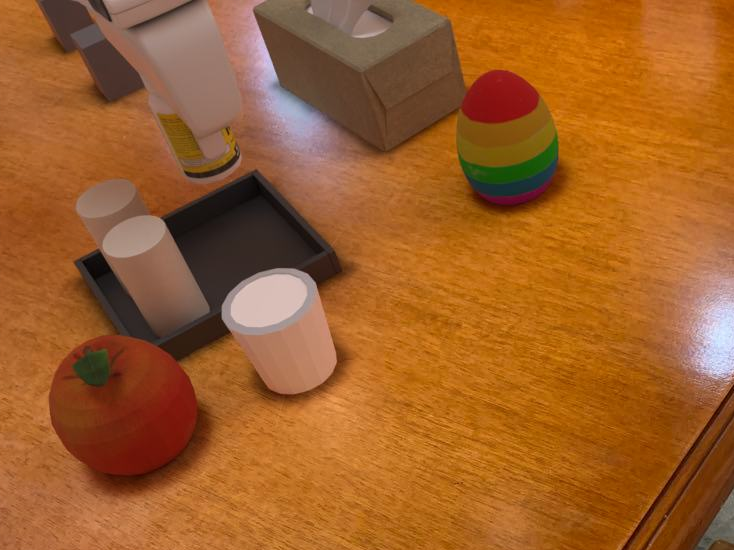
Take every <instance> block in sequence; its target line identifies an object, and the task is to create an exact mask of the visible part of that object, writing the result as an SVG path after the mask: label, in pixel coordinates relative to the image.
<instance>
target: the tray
mask: <svg viewBox="0 0 734 550" xmlns="http://www.w3.org/2000/svg"><path fill="white" fill-rule="evenodd" d="M159 218H160V219H162V220H163V221H164V222H165V224H166V226H167V228H168V230H169V232H170V234H171V235H172V237H173V239H174V241H175V243H176V245H177V247H178V249H179V251H180V252H181V254H182V256H183V258H184V260H185V262H186V264H187V266H188V267H189V269H190V271H191V273H192V275H193V277H194V279H195V281H196V282H197V284H198V286H199V288H200V290H201V292H202V294H203V296H204V298H205V299H206V301H207V303H208V305H209V308H210V312H209V313H207V314H205V315H203V316H202V317H200V318H198V319H196V320H194V321H192V322H190V323H188V324H187V325H185V326H183V327H181V328H179V329H177V330H175V331H174V332H172V333H170V334H168V335H166V336H164V337H162V338H160V337H158V336H156V335H155V334H154V333H153V331H152V330H151V328H150V326H149V325H148V323H147V322H146V320H145V318H144V317H143V315H142V313H141V312H140V310H139V308H138V307H137V305H136V303H135V302H134V300H133V298H132V297H130V296H129V295H127V293H126V292H125V291H124V289H123V287H122V286H121V284H120V282H119V281H118V279H117V277H116V276H115V274H114V272H113V271H112V269H111V267H110V266H109V264H108V263H107V261H106V259H105V258H104V256H103V254H102V253H101V251H100V249H99V248H97V249H95V250H93V251H91V252H89V253H87V254H84V255H82V256H81V257H80V258H77V259H75V260H73V261H72V262H73V264H74V266H75V268H76V269H77V270H78V272H79V274H80V275H81V277H82V278H83V280H84V281H85V282H86V284H87V286H88V287H89V289H90V291H91V292H92V294H93V295H94V296H95V299H96V300H97V301H98V303H99V304H100V306H101V308H102V309H103V311H104V312H105V313H106V315H107V317H108V318H109V319H110V321H111V323H112V324H113V327H115V329H116V330H117V332H118V334H119V335H122V336H127V337H132V338H136V339H141V340H145V341H147V342H149V343H151V344H153V345H155V346H157V347H159V348H160V349H162V350H164V351H165V352H167V353H168V354H170V355H171V356H172V357H173V358H174V359H175V361H176V362H178V361H179V360H181V359H183V358H185V357H187V356H188V355H191V354H192V353H194V352H196V351H198V350H199V349H201V348H203V347H206V346H207V345H209V344H211V343H213V342H214V341H217V340H218V339H220V338H223V337H224V336H226V335H228V334H230V333H231V332H230V330H229V329H228V327H227V326H226V324H225V323H224V321H223V320H222V305H223V303H224V301H225V299H226V297H227V296H228V294H229V293H230V292H231V291H232V290H233V289H234V288H235V287H236V286H237V285H238V284H239V283H241V282H242V281H244V280H246V279H247V278H249V277H251V276H253V275H255V274H257V273H260V272H264V271H268V270H272V269H276V268H290V269H296V270H299V271H302V272H304V273H307V274H308V275H309V276H310V277H311V278H312V279H313V281H314V282H315V283H316V286H318V285H320V284H321V283H323V282H325V281H327V280H329V279H331V278H333V277H334V276H336V275H338V274H340V273H342V272H343V268H342V265H341V263H340V260H339V258H338V255H337V252H336V250H335V249H334V248H333V247H332V246H331V244H329V243H328V241H326V239H324V238H323V236H322V235H320V233H319V232H318V231H317V229H315V228H314V227H313V226H312V225H311V223H309V222H308V220H306V219H305V218H304V217H303V216H302V215H301V214H300V213H299V211H298V210H296V208H294V206H293V205H292V204H291V203H290V202H289V201H288V200H287V199H286V198H285V197H284V196H283V195H282V194H281V193H280V191H279V190H278V189H276V187H274V186H273V184H271V182H270V181H269V180H268V179H267V178H266V177H265V176H264V175H263V174H262V173H261V171H259V170H258V169H257V168H256V169H254V170H251V171H249V172H248V173H245V174H243V175H242V176H239V177H238V178H235V179H233V180H232V181H230V182H228V183H226V184H223V185H222V186H220V187H218V188H215V189H214V190H212V191H210V192H207V193H205V194H203V195H202V196H199V197H198V198H196V199H193V200H192V201H190V202H188V203H186V204H184V205H182V206H179V207H178V208H176V209H174V210H172V211H170V212H168V213H166V214H164V215H162V216H160V217H159Z"/></svg>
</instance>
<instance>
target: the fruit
mask: <svg viewBox="0 0 734 550" xmlns="http://www.w3.org/2000/svg"><path fill="white" fill-rule="evenodd" d="M48 408H49V409H48V410H49V415H50V422H51V426H52V428H53V429H54V431H55V434H56V435H57V437H58V439H59V441H60V442H61V443H62V445H63V446H64V448H65V450H66V451H67V452H68V453H70V455H72V456H73V457H74V458H75V459H76V460H77V461H78V462H81V463H83V464H85V465H86V466H88V467H90V468H91V469H94V470H96V471H99V472H101V473H103V474H107V475H108V474H109V475H118V476H127V477H132V476H138V475H145V474H147V473H150V472H153V471H155V470H159V469H161V468H162V467H163V466H165V465H166V464H168V463H170V462H172V461H173V460H175V459H176V457H178V456H179V455H180V454H181V453H182V452H183V451H184V450H185V448H186V446H187V445H188V444H189V442H190V441H191V438H192V436H193V433H194V431H195V427H196V423H197V420H198V402H197V395H196V392H195V388H194V386H193V384H192V380H191V377H190V376H189V375H188V373H186V371H185V370H184V369H183V367H182V366H181V365H180V364H179V363H178V361H175V359H174V358H173V357H172V356H171V355H170V354H168V353H167V352H165V351H164V350H162V349H160V348H159V347H157V346H155V345H153V344H151V343H149V342H147V341H145V340H141V339H136V338H132V337H127V336H122V335H120V334H109V335H108V334H107V335H101V336H96V337H93V338H90V339H87V340H86V341H84V342H82V343H81V344H79V345H78V346H76V347H74V348H73V349H72V350H71V351H70V352H69V353H68V354H67V355H66V356H65V357H64V359H62V360H61V362H60V364H59V366H58V367H57V369H56V371H55V373H54V375H53V379H52V382H51V385H50V389H49V393H48Z"/></svg>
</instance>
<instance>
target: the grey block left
mask: <svg viewBox="0 0 734 550" xmlns="http://www.w3.org/2000/svg"><path fill="white" fill-rule="evenodd" d="M35 2H36V5H38V7H39V9H40V11H41V14H42V15H43V18H44V19H45V20H46V23H47V25H48V26H49V29H51V31H52V33H53V35H54V37H55V39H56V41H57V42H58V43H59V44H60V46H61V47H62V48H63V49H64V50H65V51H66V52H67V53H71V52H72V51H74V50H77V48H76V46H75V44H74V42H73V40H72V39H71V37H70V34H72V33H75V32H77V31H79V30H81V29H84V28H86V27H88V26H90V25H92V24H95V22H94V19H93V17H92V16H91V13H90V12H89V11H88V9H87V7H86V6H84V5H82V4H81V3H79V2H77V1H72V0H35Z"/></svg>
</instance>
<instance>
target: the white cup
mask: <svg viewBox="0 0 734 550" xmlns="http://www.w3.org/2000/svg"><path fill="white" fill-rule="evenodd" d="M317 286H318V285H316V283H315V282H314V281H313V279H312V278H311V277H310V276H309V275H308V274H307V273H304V272H302V271H299V270H296V269H290V268H276V269H272V270H268V271H264V272H260V273H257V274H255V275H253V276H251V277H249V278H247V279H246V280H244V281H242V282H241V283H239V284H238V285H237V286H236V287H235V288H234V289H233V290H232V291H231V292H230V293H229V294H228V296H227V297H226V299H225V301H224V303H223V305H222V320H223V321H224V323H225V324H226V326H227V327H228V329H229V330H230V332H229V333H231V335H232V336H233V338H234V340H235V341H236V342H237V344H238V345H239V347H240V348H241V350H242V351H243V353H244V354H245V356H246V357H247V359H248V361H249V362H250V363H251V365H252V366H253V368H254V369H255V371H256V372H257V374H258V375H259V377H260V378H261V380H262V381H263V383H264V384H265V385H266V387H267V389H268V390H270V391H273V392H275V393H277V394H279V395H297V394H301V393H305V392H309V391H311V390H313V389H314V388H316V387H318V386H321V385H322V384H323V383H324V382H325V381H327V379H328V378H329V377H330V376H331V375H332V374H333V372H334V370H335V368H336V365H337V363H338V360H337V352H336V351H337V350H336V348H335V345H334V342H333V341H334V340H333V337H332V335H331V331H330V327H329V325H328V321H327V317H326V314H325V310H324V306H323V303H322V300H321V296H320V293H319V290H318V287H317Z"/></svg>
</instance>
